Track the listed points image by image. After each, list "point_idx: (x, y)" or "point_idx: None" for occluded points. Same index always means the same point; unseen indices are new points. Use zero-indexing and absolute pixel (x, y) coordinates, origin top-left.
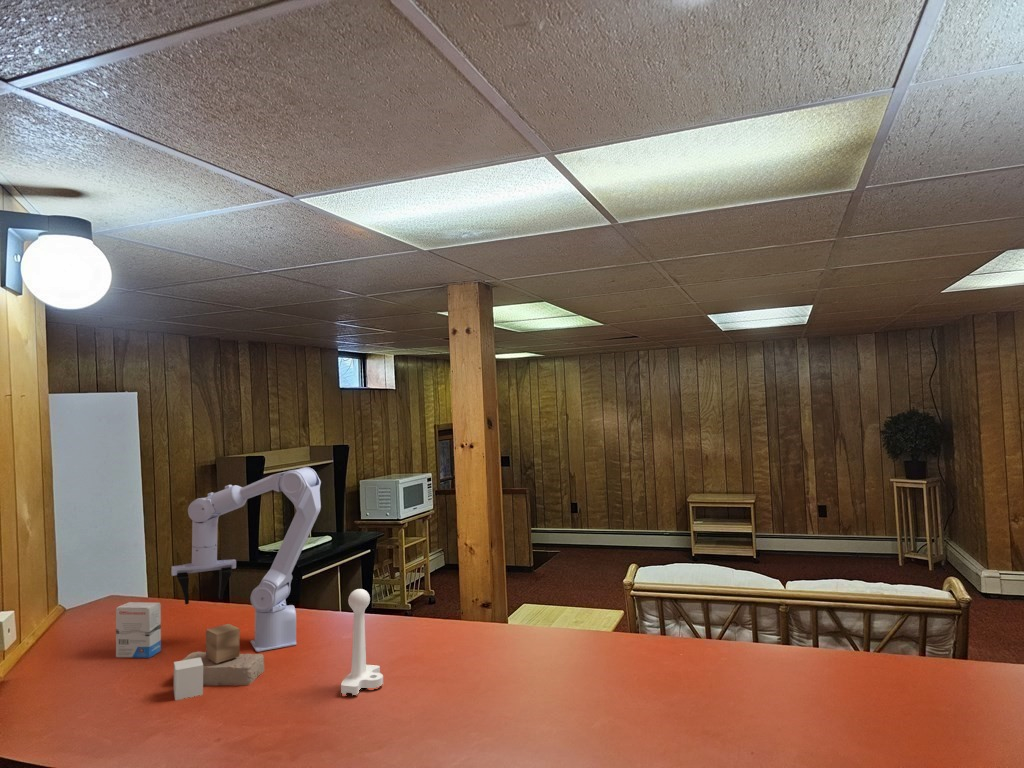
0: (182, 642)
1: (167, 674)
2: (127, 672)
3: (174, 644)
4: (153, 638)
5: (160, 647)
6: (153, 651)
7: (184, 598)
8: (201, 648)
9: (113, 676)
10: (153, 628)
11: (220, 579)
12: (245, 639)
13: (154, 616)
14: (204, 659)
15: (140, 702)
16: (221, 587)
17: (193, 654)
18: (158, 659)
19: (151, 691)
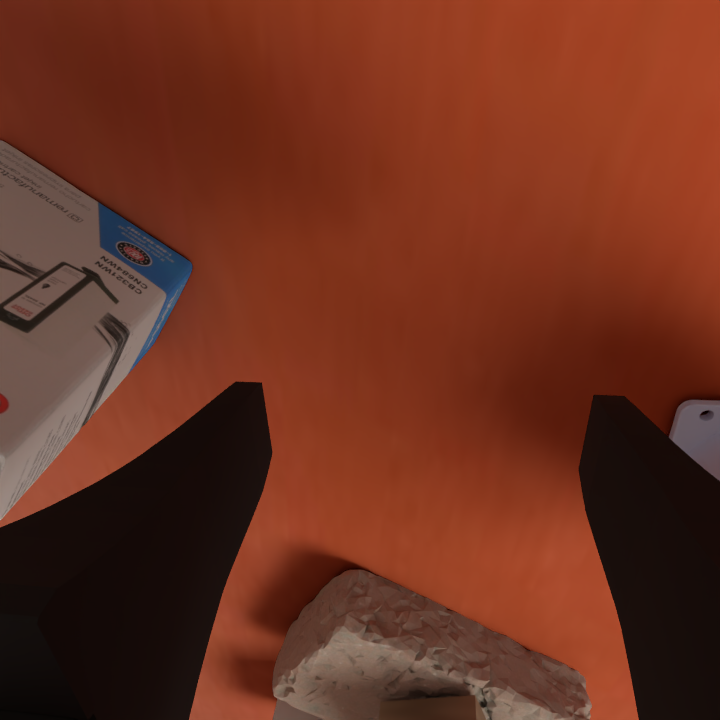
0: (308, 157)
1: (258, 548)
2: (99, 457)
3: (260, 172)
4: (120, 374)
5: (183, 281)
6: (156, 334)
7: (213, 402)
8: (410, 336)
9: (56, 468)
10: (86, 412)
11: (660, 661)
12: (683, 319)
13: (41, 457)
14: (376, 691)
15: (202, 673)
16: (623, 607)
17: (337, 656)
18: (200, 379)
19: (221, 633)
